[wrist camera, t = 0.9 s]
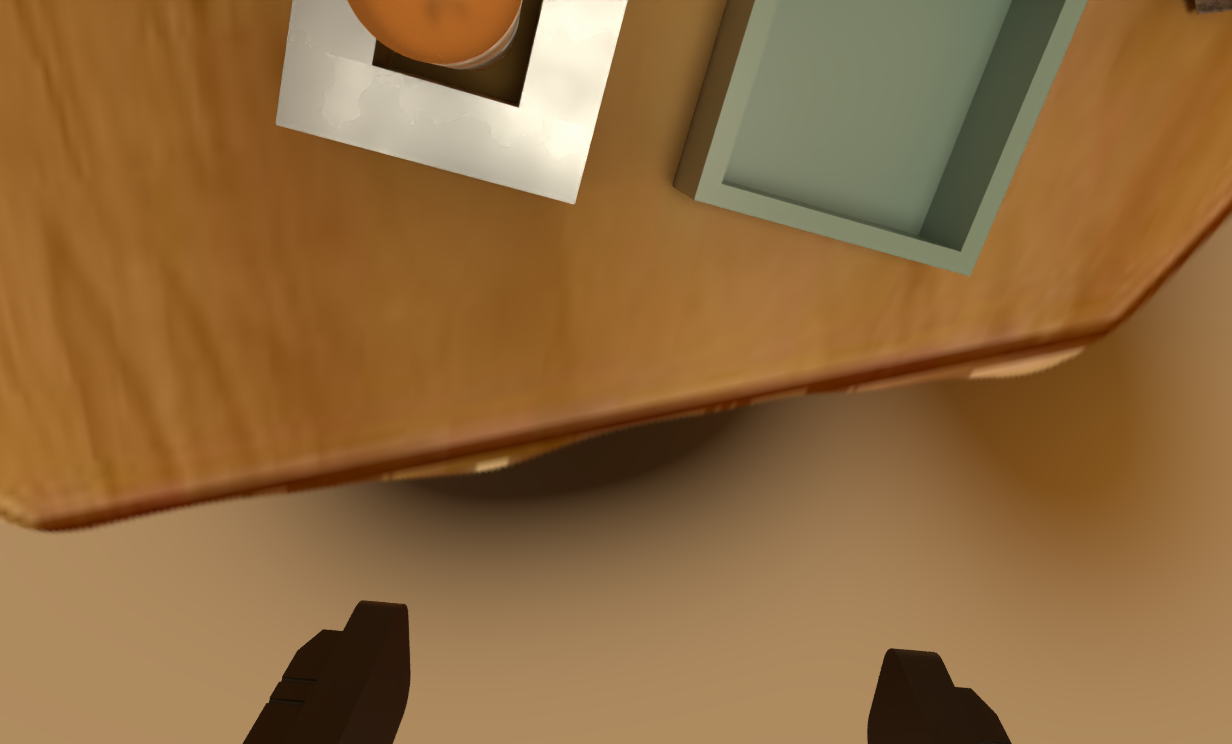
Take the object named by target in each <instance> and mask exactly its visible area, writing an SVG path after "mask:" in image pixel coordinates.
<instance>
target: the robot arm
mask: <svg viewBox="0 0 1232 744" xmlns="http://www.w3.org/2000/svg"><path fill="white" fill-rule="evenodd" d="M409 687H410V647H409V621H408V609H407V606H406V605H405V604H397V603H386V602H375V601H360V602H359V603H358V604H357V606H356V607H355V609H354V611H353V613H352V615H351V617H350V619H349V621H348V622H347V624H346V626H345V628H344V630H343V631H336V630H322V631H321V632H320V633H318V634H317V635H316V636H315V637H313V638H312V639H311V640H310V641H309V642H307V643H306V644H305V645H304V646H303V647H301V648H300V649H299V650H298V651H297V652H296V654H295V656H294V658H293V659H292V661H291V663H290V664H289V666H288V668H287V669H286V671H285V673H284V674H283V676H282V681H281V682H279V683H278V685H277V686H276V688H275V690H274V691H273V693H272V695H271V696H270V700H269V703H266V705H265V707H264V708H263V710H262V712H261V713H260V715H259V717H258V719H257V720H256V722H255V724H254V725H253V727H252V729H251V730H250V732H249V734H248V735H247V737H246V739H245V741H244V742H243V744H393V741H394V739H395V736H396V733H397V731H398V728H399V725H400V723H401V720H402V717H403V715H404V711H405V708H406V704H407V699H408V693H409ZM867 738H868V744H1012V743H1011V742H1010V739H1009V738H1008V736H1007V734H1006V732H1005V730H1004V728H1003V726H1002V724H1001V722H1000V720H999V718H998V716H997V714H996V713H994V711H993V710H992V709H991V708H990V707H989V706H988V705H987V704H986V703H985V702H984V701H983V700H982V699H981V698H980V697H979V696H978V695H977V694H976V693H975V692H974V691H973V690H972V689H971V688H961V687H955V686H954V684H953V682H952V680H951V678H950V675H949V674H948V671H947V669H946V667H945V665H944V663H943V661H942V659H941V657H940V656H939V655H938V654H937V653H935V652H926V651H915V650H904V649H892V648H891V649H889V650H888V651H887V652H886V654H885V656H884V660H883V664H882V667H881V671H880V675H879V679H878V683H877V687H876V691H875V694H874V699H873V702H872V706H871V710H870V714H869V718H868V729H867Z"/></svg>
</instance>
